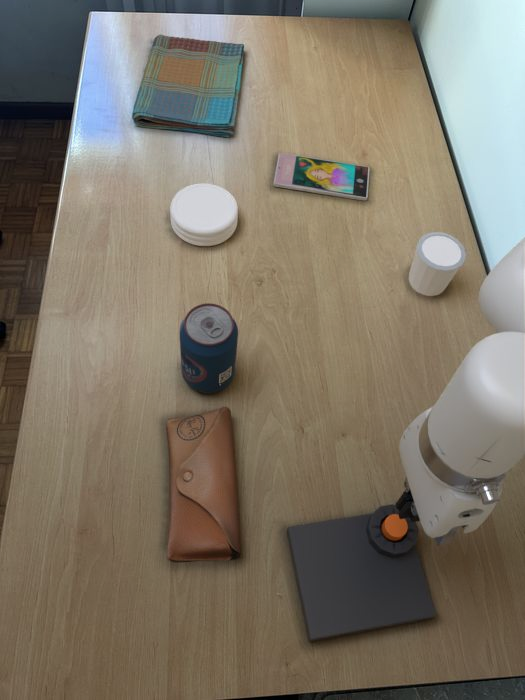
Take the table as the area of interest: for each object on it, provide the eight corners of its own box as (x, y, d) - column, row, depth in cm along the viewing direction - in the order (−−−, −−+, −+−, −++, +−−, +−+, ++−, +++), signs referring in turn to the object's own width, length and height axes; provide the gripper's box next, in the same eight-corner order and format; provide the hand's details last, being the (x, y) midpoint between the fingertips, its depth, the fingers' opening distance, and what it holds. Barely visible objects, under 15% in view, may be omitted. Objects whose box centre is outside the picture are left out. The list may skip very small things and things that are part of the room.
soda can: (171, 369, 87) (166, 318, 77) (213, 342, 89) (214, 289, 79) (203, 407, 84) (203, 359, 74) (245, 377, 87) (251, 328, 77)
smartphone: (367, 198, 104) (273, 183, 104) (366, 201, 105) (272, 187, 105) (369, 166, 108) (278, 152, 108) (368, 170, 109) (278, 155, 109)
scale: (402, 510, 79) (409, 501, 76) (433, 618, 73) (443, 612, 70) (285, 529, 77) (289, 520, 74) (308, 642, 71) (312, 637, 68)
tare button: (400, 516, 76) (404, 512, 74) (407, 539, 74) (410, 535, 73) (378, 520, 75) (381, 515, 74) (385, 542, 74) (388, 539, 73)
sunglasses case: (161, 417, 83) (188, 394, 78) (210, 426, 86) (238, 405, 82) (165, 564, 73) (196, 549, 69) (219, 567, 77) (251, 552, 73)
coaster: (160, 236, 98) (159, 220, 95) (184, 191, 103) (184, 174, 100) (224, 255, 97) (225, 239, 94) (245, 208, 102) (246, 192, 99)
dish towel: (130, 127, 110) (128, 115, 108) (153, 41, 122) (152, 29, 120) (233, 139, 110) (234, 127, 108) (246, 52, 122) (247, 39, 120)
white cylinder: (399, 291, 96) (412, 260, 90) (409, 257, 100) (422, 225, 94) (445, 305, 96) (461, 276, 90) (454, 270, 99) (470, 239, 93)
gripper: (545, 525, 51) (468, 575, 67) (478, 357, 58) (423, 439, 74) (452, 541, 50) (396, 589, 66) (397, 369, 57) (359, 449, 73)
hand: (411, 509), depth 70 cm, fingers closed
